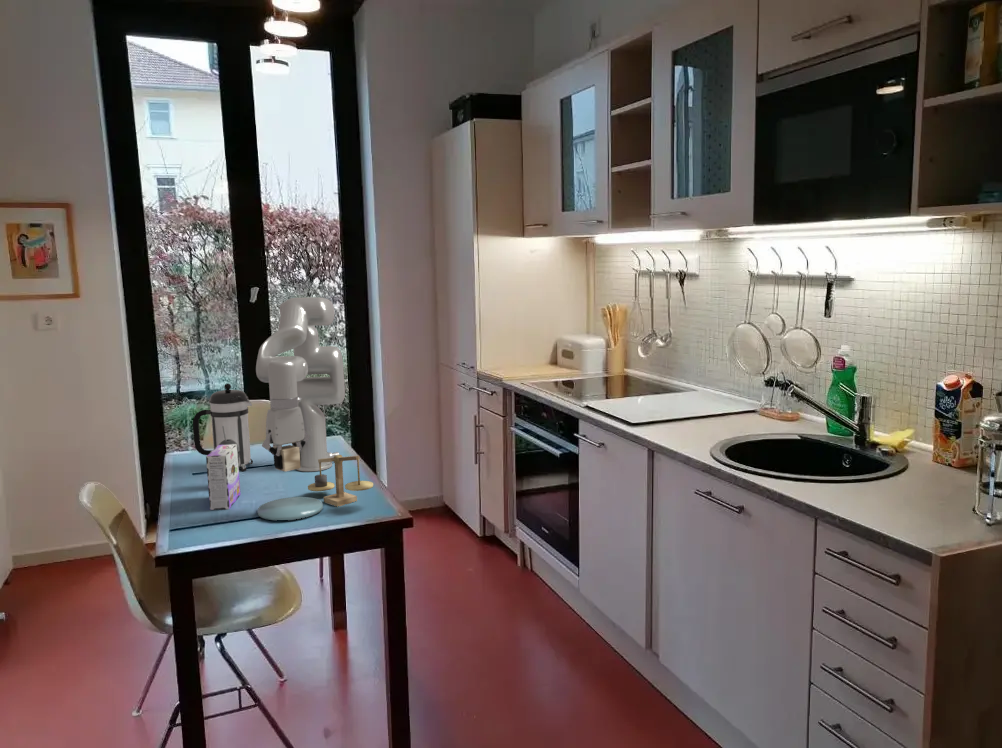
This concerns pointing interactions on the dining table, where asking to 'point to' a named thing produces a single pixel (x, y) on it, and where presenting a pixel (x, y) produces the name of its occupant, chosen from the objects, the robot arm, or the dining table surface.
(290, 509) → the dish
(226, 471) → the candy box
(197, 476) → the dining table surface
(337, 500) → the balance
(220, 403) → the coffee press
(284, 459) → the block
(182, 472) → the dining table surface
